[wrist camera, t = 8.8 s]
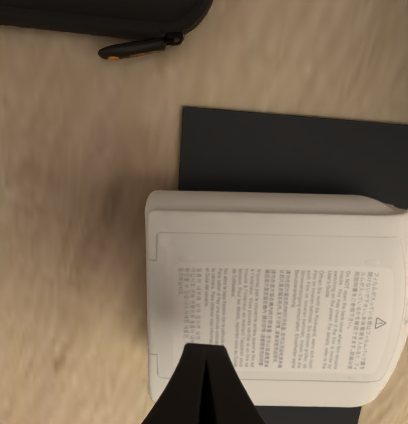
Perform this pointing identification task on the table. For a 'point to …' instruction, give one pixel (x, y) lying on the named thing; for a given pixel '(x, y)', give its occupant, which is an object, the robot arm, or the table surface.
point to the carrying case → (112, 21)
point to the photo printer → (279, 291)
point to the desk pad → (294, 178)
